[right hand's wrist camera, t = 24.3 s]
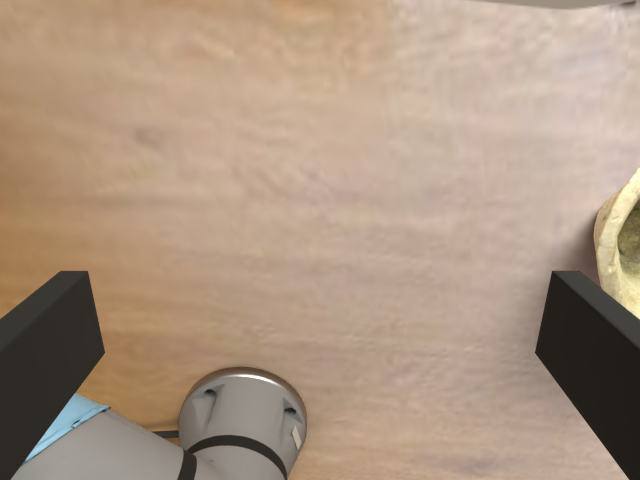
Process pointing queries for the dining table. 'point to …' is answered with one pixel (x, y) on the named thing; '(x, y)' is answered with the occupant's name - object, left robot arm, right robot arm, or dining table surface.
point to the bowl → (620, 245)
